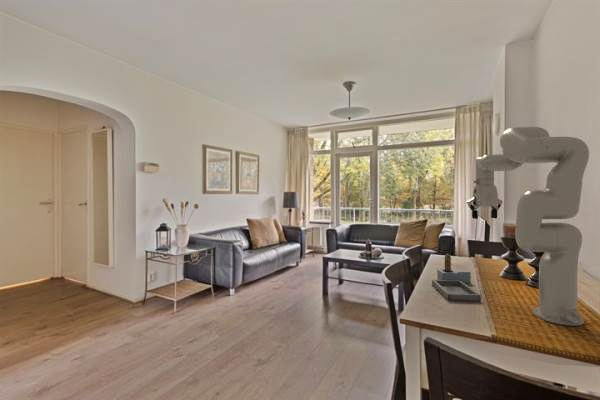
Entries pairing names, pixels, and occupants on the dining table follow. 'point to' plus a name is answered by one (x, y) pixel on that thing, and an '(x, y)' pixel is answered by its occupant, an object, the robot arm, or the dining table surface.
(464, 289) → the tray
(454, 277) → the light blue chunk
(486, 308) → the dining table surface
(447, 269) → the post
